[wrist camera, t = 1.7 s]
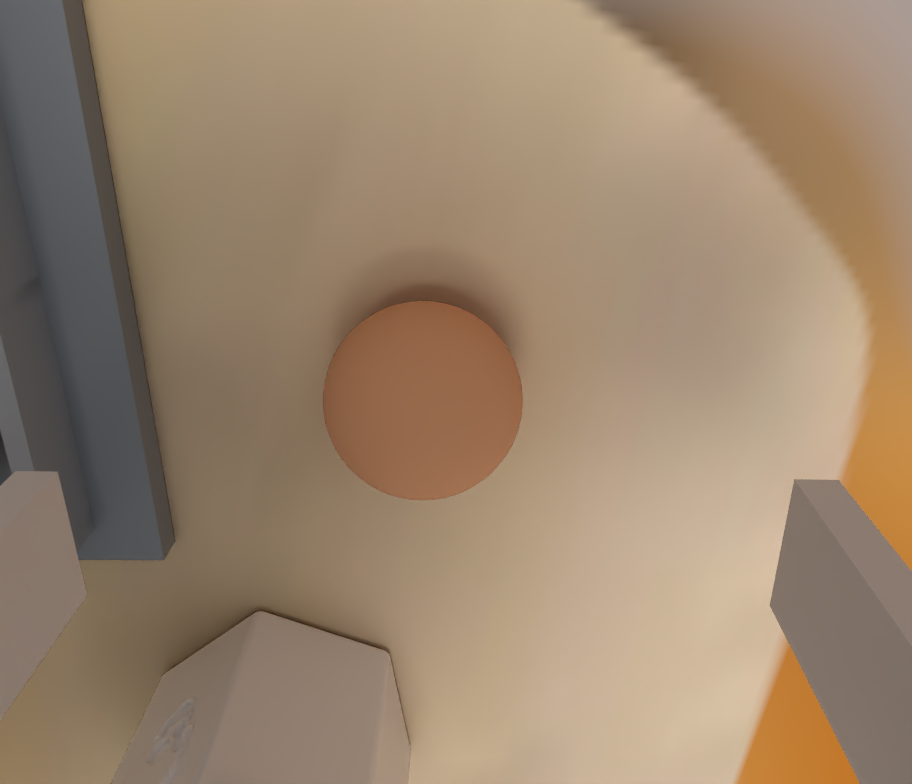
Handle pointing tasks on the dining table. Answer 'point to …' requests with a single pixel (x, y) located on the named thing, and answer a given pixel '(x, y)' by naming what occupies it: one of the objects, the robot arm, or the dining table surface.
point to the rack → (70, 296)
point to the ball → (422, 400)
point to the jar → (273, 713)
